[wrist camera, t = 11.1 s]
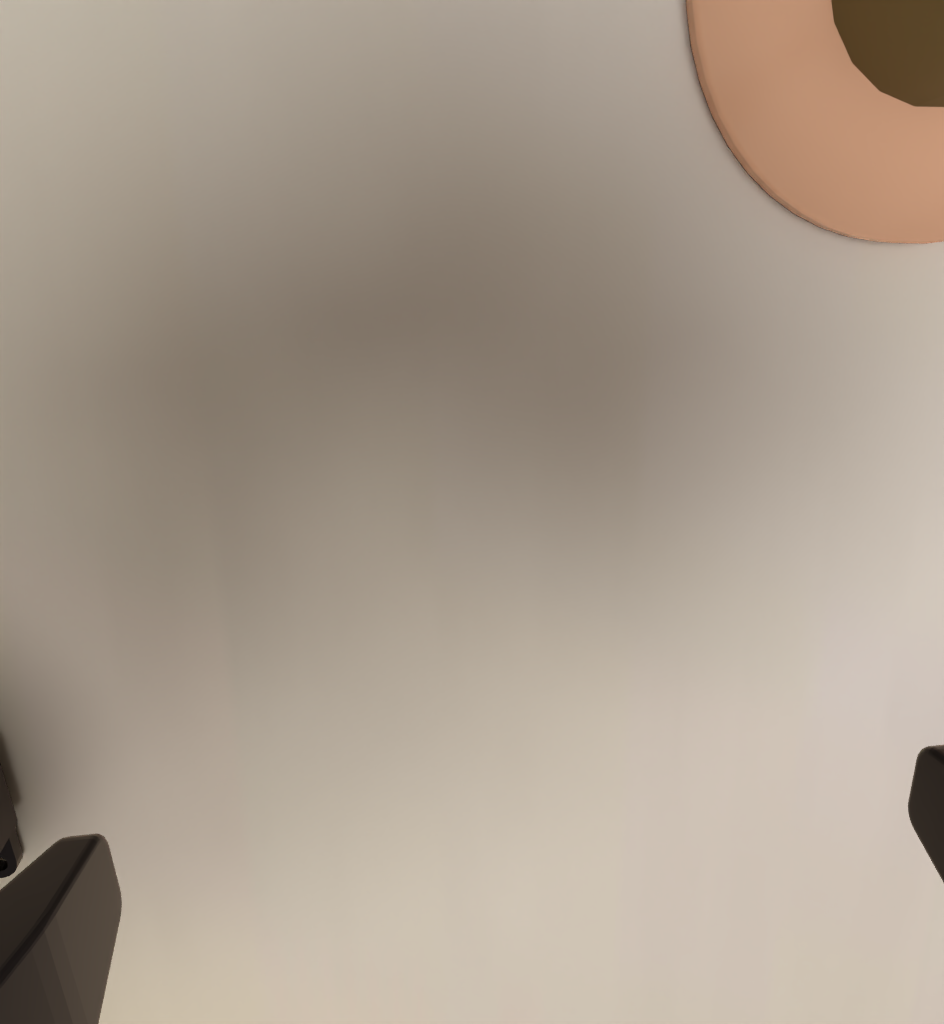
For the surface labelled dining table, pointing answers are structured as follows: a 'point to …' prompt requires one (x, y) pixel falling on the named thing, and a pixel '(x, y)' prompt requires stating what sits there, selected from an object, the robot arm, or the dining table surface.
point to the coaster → (818, 121)
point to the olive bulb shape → (896, 46)
